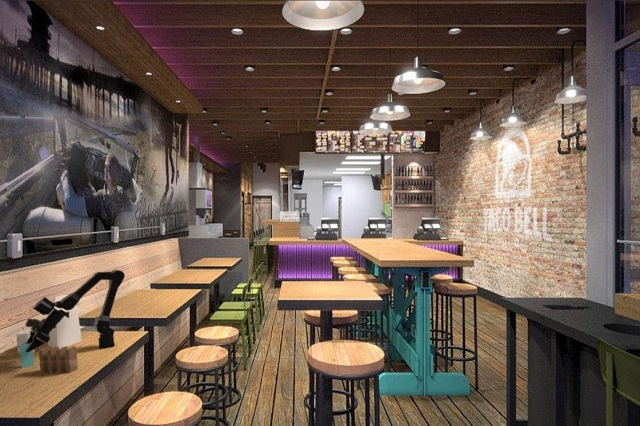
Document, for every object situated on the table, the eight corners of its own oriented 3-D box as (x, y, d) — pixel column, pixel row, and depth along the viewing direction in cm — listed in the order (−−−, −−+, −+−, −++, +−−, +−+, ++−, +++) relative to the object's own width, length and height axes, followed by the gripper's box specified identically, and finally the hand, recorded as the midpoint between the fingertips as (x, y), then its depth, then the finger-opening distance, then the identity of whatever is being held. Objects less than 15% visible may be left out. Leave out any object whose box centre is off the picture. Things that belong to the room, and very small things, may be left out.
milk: (71, 338, 231) (68, 292, 231) (81, 341, 225) (78, 294, 224) (48, 345, 222) (44, 297, 221) (57, 348, 215) (53, 298, 215)
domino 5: (67, 372, 179) (65, 349, 179) (74, 368, 183) (72, 346, 183) (70, 372, 179) (68, 349, 179) (77, 368, 183) (76, 346, 183)
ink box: (29, 356, 205) (27, 332, 205) (17, 358, 204) (15, 334, 204) (35, 351, 213) (33, 328, 213) (23, 353, 212) (22, 330, 212)
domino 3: (49, 372, 181) (47, 350, 180) (57, 368, 185) (55, 346, 185) (52, 372, 180) (50, 350, 180) (60, 368, 185) (58, 346, 185)
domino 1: (21, 367, 191) (19, 345, 191) (33, 364, 194) (31, 342, 193) (22, 367, 190) (20, 346, 189) (33, 364, 192) (31, 343, 192)
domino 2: (40, 372, 181) (38, 350, 181) (48, 368, 186) (46, 346, 186) (43, 372, 181) (41, 350, 181) (51, 368, 185) (50, 346, 185)
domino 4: (58, 372, 180) (56, 349, 180) (65, 368, 184) (64, 346, 184) (61, 372, 180) (59, 349, 179) (69, 368, 184) (67, 346, 184)
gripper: (34, 308, 202) (7, 336, 195) (39, 314, 187) (10, 345, 180) (54, 320, 207) (29, 348, 200) (61, 327, 193) (34, 357, 186)
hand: (25, 349), depth 191 cm, fingers open, 9 cm apart
